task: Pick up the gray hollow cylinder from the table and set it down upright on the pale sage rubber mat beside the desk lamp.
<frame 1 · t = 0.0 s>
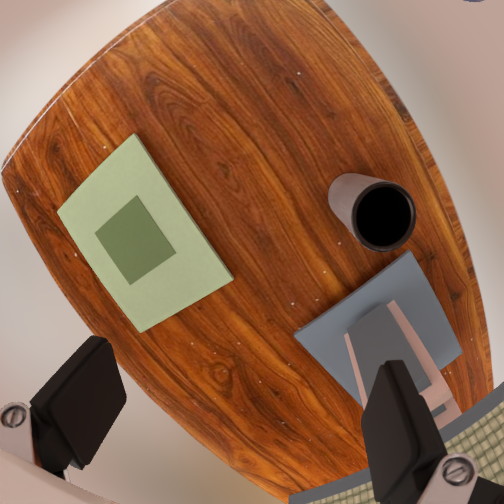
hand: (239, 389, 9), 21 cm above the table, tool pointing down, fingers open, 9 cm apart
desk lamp: (384, 334, 31), on the table
gray hollow cylinder: (350, 196, 27), on the table
mat: (135, 240, 30), on the table
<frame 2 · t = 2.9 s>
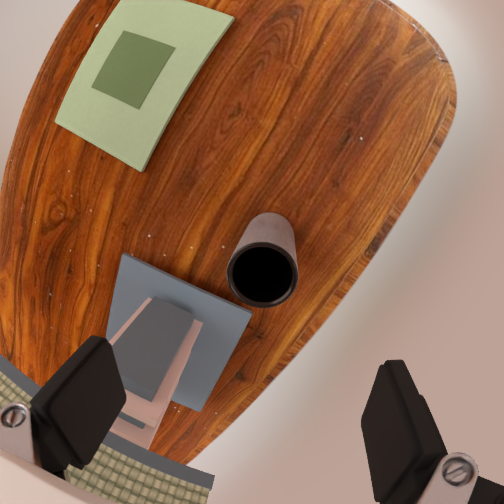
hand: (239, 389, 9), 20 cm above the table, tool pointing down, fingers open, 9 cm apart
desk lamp: (171, 332, 33), on the table
gray hollow cylinder: (269, 235, 29), on the table
mat: (133, 68, 24), on the table
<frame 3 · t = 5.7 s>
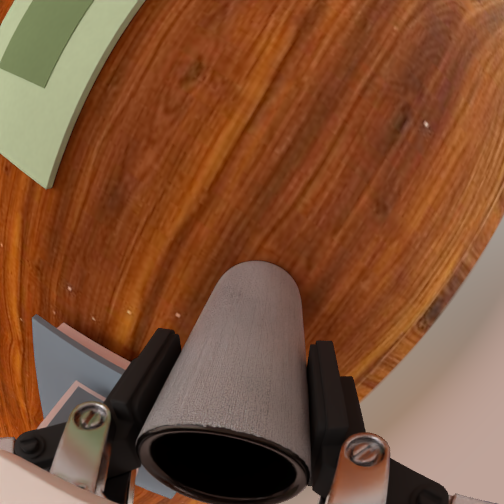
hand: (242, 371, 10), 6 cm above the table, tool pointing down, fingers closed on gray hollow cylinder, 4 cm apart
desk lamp: (122, 413, 20), on the table
gray hollow cylinder: (257, 298, 16), on the table, touching gripper
mat: (47, 30, 12), on the table
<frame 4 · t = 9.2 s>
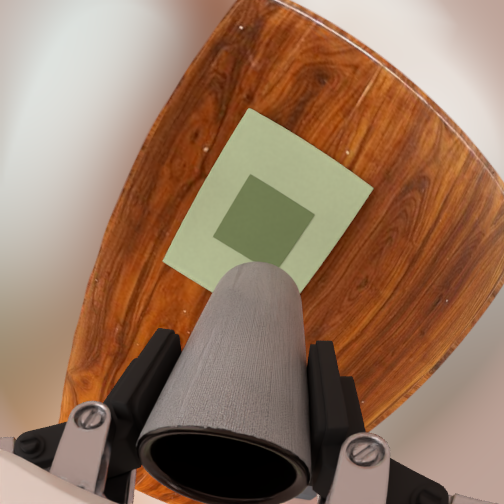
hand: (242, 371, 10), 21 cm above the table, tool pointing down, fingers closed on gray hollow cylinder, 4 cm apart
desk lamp: (277, 426, 38), on the table
gray hollow cylinder: (257, 299, 16), point 15 cm above the table, touching gripper
mat: (263, 224, 29), on the table
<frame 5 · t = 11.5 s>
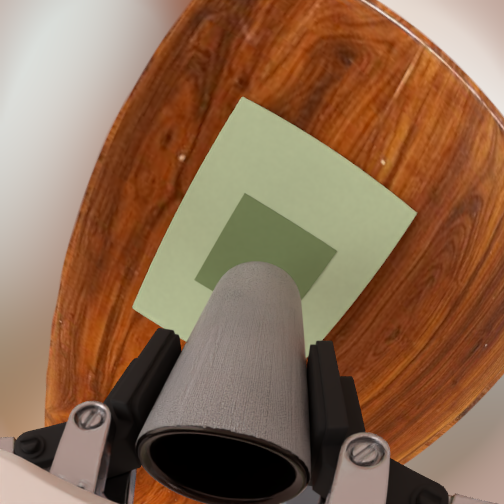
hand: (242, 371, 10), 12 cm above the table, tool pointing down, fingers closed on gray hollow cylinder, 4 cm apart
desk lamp: (279, 478, 30), on the table
gray hollow cylinder: (257, 299, 16), point 6 cm above the table, touching gripper
mat: (264, 263, 21), on the table
when the fingers open (6 cm above the table, at t = 13.1 s): gray hollow cylinder stays where it is, resting on mat.
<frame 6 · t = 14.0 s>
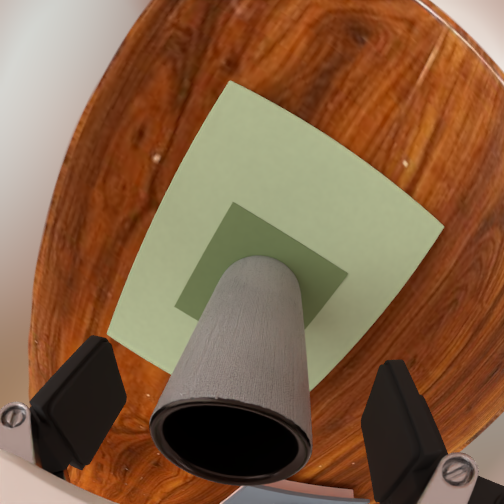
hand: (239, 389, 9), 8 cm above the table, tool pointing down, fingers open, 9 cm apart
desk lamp: (277, 503, 26), on the table
gray hollow cylinder: (259, 292, 17), resting on mat
mat: (258, 287, 17), on the table
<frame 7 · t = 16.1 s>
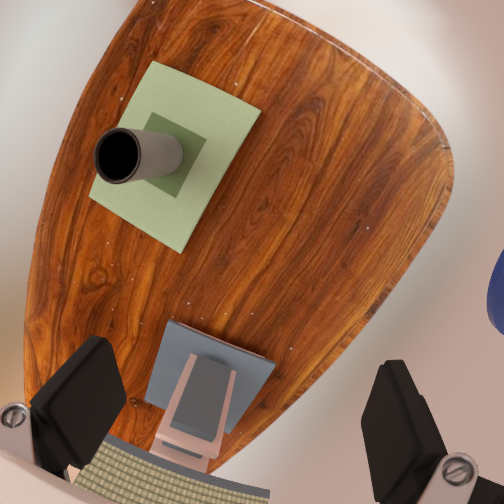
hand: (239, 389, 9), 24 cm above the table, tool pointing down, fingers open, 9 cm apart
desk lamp: (205, 374, 40), on the table
gray hollow cylinder: (164, 154, 30), resting on mat
mat: (165, 154, 31), on the table
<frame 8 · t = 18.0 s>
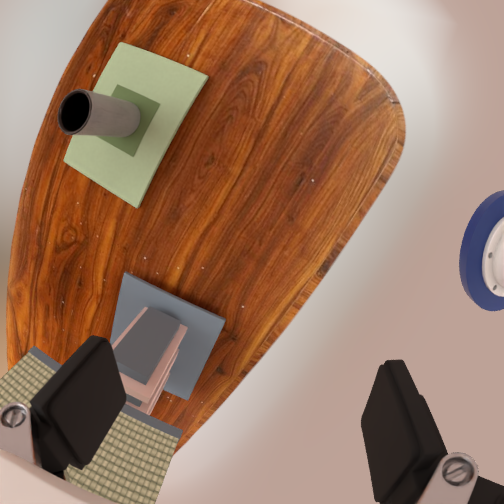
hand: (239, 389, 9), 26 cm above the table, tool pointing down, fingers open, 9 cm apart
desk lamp: (163, 334, 41), on the table
gray hollow cylinder: (125, 119, 32), resting on mat
mat: (126, 119, 32), on the table
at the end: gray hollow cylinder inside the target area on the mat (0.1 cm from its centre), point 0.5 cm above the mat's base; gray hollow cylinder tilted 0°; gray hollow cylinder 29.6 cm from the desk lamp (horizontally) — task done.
